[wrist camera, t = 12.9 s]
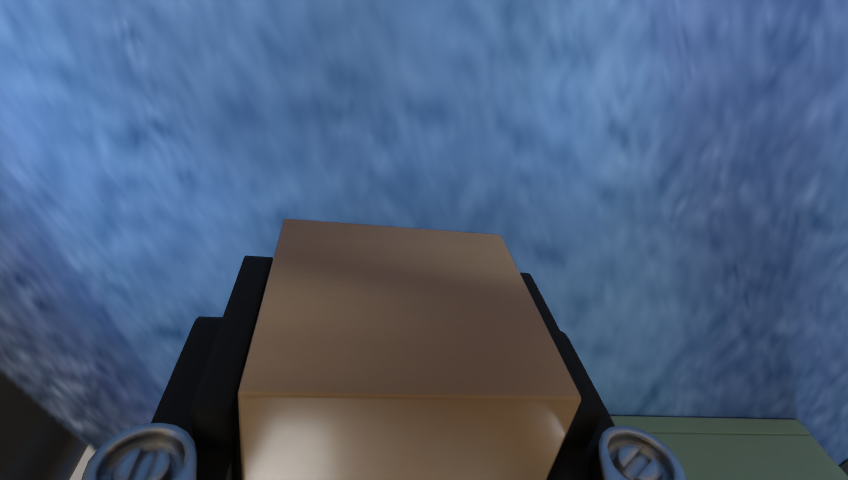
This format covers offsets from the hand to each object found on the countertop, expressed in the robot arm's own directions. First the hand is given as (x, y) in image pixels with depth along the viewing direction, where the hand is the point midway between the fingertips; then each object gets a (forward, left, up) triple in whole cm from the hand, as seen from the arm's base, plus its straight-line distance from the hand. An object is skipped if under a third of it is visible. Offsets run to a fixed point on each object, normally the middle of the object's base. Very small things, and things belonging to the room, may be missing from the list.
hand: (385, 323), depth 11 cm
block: (0, 0, 0) cm, 0 cm away
